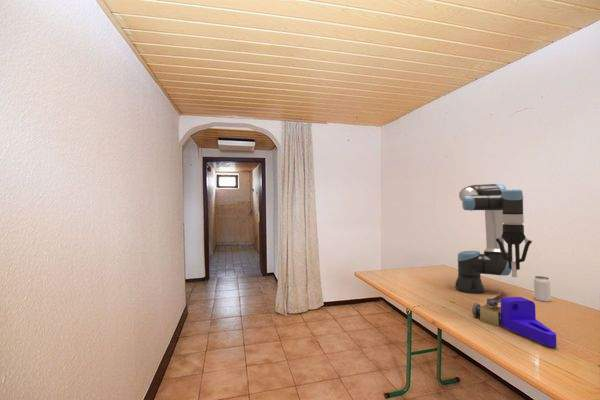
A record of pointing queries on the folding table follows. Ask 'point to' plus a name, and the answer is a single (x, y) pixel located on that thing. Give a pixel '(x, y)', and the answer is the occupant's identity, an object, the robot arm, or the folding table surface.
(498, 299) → the lever
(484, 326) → the folding table surface
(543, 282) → the can
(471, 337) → the folding table surface
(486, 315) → the valve
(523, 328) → the bracket
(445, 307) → the folding table surface
